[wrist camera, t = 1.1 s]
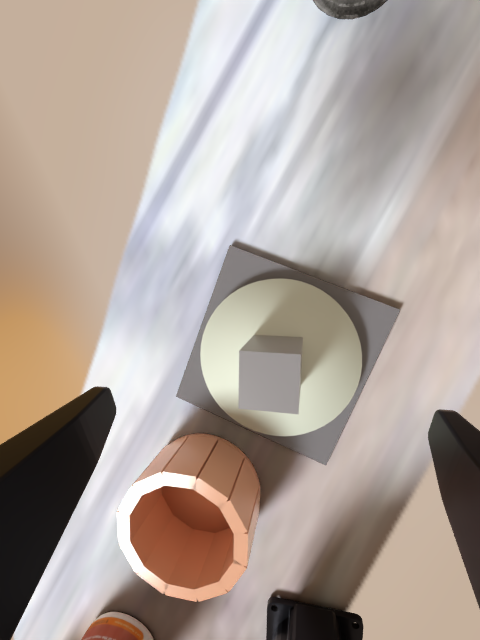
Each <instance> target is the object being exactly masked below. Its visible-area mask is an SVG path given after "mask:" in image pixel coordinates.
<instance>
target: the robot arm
mask: <svg viewBox="0 0 480 640" xmlns="http://www.w3.org/2000/svg"><path fill="white" fill-rule="evenodd" d="M115 415H116V405H115V402H114V399H113V396H112V393H111V390H110V389H109V388H107V387H93V388H92V389H90V390H88V391H87V392H85V393H84V394H82V395H80V396H79V397H77V398H75V399H74V400H72V401H71V402H69V403H67V404H66V405H64V406H62V407H61V408H59V409H58V410H56V411H54V412H53V413H51V414H50V415H48V416H46V417H45V418H43V419H42V420H40V421H38V422H37V423H35V424H33V425H32V426H30V427H28V428H27V429H25V430H24V431H22V432H21V433H19V434H17V435H15V436H14V437H12V438H11V439H9V440H7V441H6V442H4V443H2V444H1V445H0V640H11V638H12V636H13V634H14V632H15V630H16V627H17V625H18V623H19V621H20V619H21V617H22V615H23V613H24V611H25V609H26V607H27V605H28V603H29V601H30V599H31V597H32V595H33V593H34V591H35V589H36V587H37V585H38V583H39V581H40V579H41V577H42V575H43V573H44V571H45V569H46V567H47V565H48V563H49V561H50V559H51V557H52V555H53V552H54V550H55V548H56V546H57V544H58V542H59V540H60V538H61V536H62V534H63V532H64V530H65V528H66V526H67V524H68V522H69V520H70V518H71V516H72V514H73V512H74V510H75V508H76V506H77V504H78V502H79V500H80V498H81V496H82V494H83V492H84V490H85V488H86V486H87V484H88V482H89V480H90V477H91V475H92V473H93V471H94V469H95V467H96V465H97V463H98V460H99V458H100V456H101V453H102V450H103V448H104V445H105V442H106V440H107V437H108V434H109V432H110V429H111V426H112V423H113V421H114V418H115ZM428 440H429V445H430V449H431V453H432V458H433V462H434V467H435V471H436V475H437V480H438V485H439V489H440V493H441V497H442V500H443V504H444V507H445V510H446V513H447V516H448V519H449V522H450V524H451V527H452V530H453V533H454V536H455V539H456V542H457V544H458V547H459V550H460V553H461V556H462V559H463V562H464V565H465V567H466V571H467V573H468V576H469V579H470V582H471V585H472V588H473V590H474V594H475V597H476V599H477V602H478V605H479V608H480V431H479V430H478V429H477V428H475V427H474V426H473V425H471V424H470V423H469V422H468V421H467V420H466V419H464V418H463V417H462V416H461V415H460V414H458V413H457V412H455V411H453V410H437V411H436V412H435V414H434V416H433V419H432V423H431V426H430V429H429V432H428ZM273 605H275V606H273ZM354 622H356V623H354ZM362 638H363V623H362V618H361V617H360V616H359V615H358V614H355V613H350V612H345V611H340V610H335V609H330V608H325V607H321V606H316V605H311V604H306V603H301V602H296V601H291V600H286V599H282V598H277V597H271V598H270V599H269V600H268V606H267V636H266V640H362Z"/></svg>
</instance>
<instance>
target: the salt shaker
mask: <svg viewBox="0 0 480 640" xmlns="http://www.w3.org/2000/svg"><path fill="white" fill-rule="evenodd" d="M313 1H314V3H315V4H316V6H317V7H318V8H319V9H320V10H322V11H323V12H324V13H326V14H327V15H329V16H332V17H335V18H338V19H355V18H359V17H362V16H366V15H368V14H369V13H371V12H373V11H375V10H377V9H378V8H379V7H381V6H382V5H383V4H384V3H385V2H386V1H387V0H313Z"/></svg>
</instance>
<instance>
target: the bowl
mask: <svg viewBox="0 0 480 640" xmlns="http://www.w3.org/2000/svg"><path fill="white" fill-rule="evenodd" d="M260 495H261V491H260V482H259V478H258V475H257V472H256V470H255V468H254V466H253V464H252V463H251V461H250V460H249V458H248V457H247V456H246V455H245V454H244V453H243V452H242V451H241V450H240V449H239V448H238V447H237V446H235V445H234V444H232V443H231V442H229V441H227V440H225V439H223V438H221V437H218V436H215V435H210V434H202V433H197V434H189V435H185V436H182V437H180V438H178V439H176V440H174V441H173V442H172V443H170V444H169V445H167V446H165V447H164V448H163V449H162V450H161V452H160V453H159V454H158V455H157V456H156V457H155V459H154V460H153V461H152V462H151V463H150V465H149V466H148V467H147V468H146V469H145V470H144V472H143V473H142V474H141V475H140V476H139V478H138V479H137V480H136V481H135V482H134V483H133V485H132V486H131V488H130V489H129V491H128V493H127V494H126V496H125V498H124V499H123V501H122V503H121V505H120V506H119V508H118V511H117V526H118V542H120V543H119V545H120V547H121V549H122V551H123V552H124V554H125V556H126V558H127V559H128V561H129V563H130V565H131V567H132V568H133V570H134V572H137V571H138V572H137V573H136V574H137V575H138V576H140V577H141V578H142V579H144V580H145V581H146V582H147V583H149V584H150V585H151V586H153V587H154V588H155V589H157V590H158V591H159V592H161V593H162V594H163V593H164V592H165V595H167V596H171V597H176V598H181V599H185V600H190V601H194V602H197V600H198V601H199V602H200V601H203V600H207V599H210V598H213V597H216V596H219V595H223V594H226V593H228V591H230V590H231V589H232V587H233V586H234V585H235V583H236V582H237V581H238V579H239V578H240V577H241V575H242V574H243V573H244V571H245V570H246V569H247V566H248V561H249V557H250V552H251V547H252V543H253V538H254V534H255V529H256V524H257V520H258V515H259V503H260Z"/></svg>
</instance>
